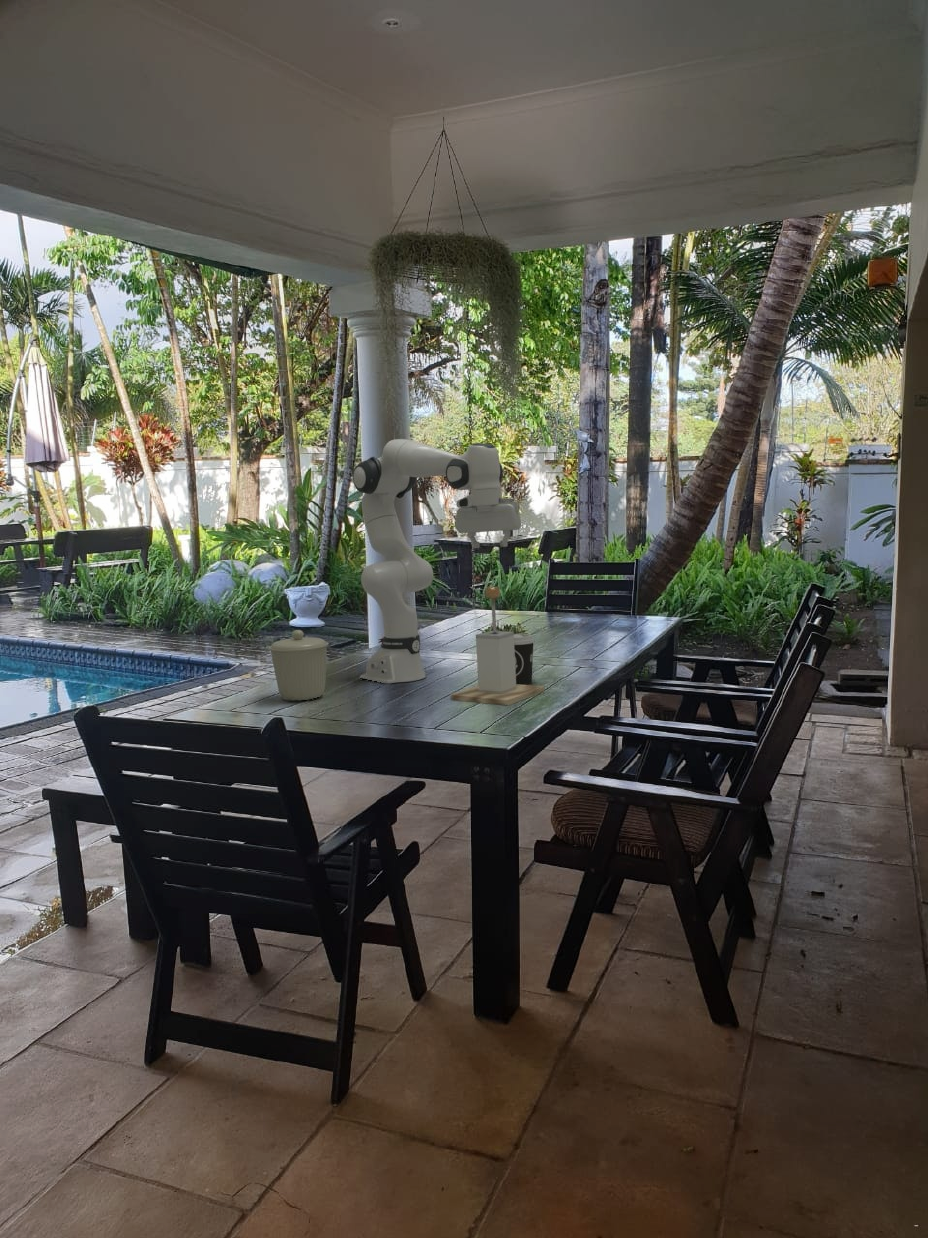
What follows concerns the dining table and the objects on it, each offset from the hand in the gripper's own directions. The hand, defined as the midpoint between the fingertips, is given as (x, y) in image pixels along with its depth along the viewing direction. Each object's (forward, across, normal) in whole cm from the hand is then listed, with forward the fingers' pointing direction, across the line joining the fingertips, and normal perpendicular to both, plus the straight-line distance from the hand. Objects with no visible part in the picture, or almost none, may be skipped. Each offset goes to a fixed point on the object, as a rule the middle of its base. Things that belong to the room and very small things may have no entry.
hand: (489, 547), depth 284 cm
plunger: (+32, 0, +1) cm, 32 cm away
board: (+44, 0, 0) cm, 44 cm away
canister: (+42, +56, +23) cm, 74 cm away
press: (+42, 0, -1) cm, 42 cm away
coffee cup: (+44, +3, -18) cm, 47 cm away
